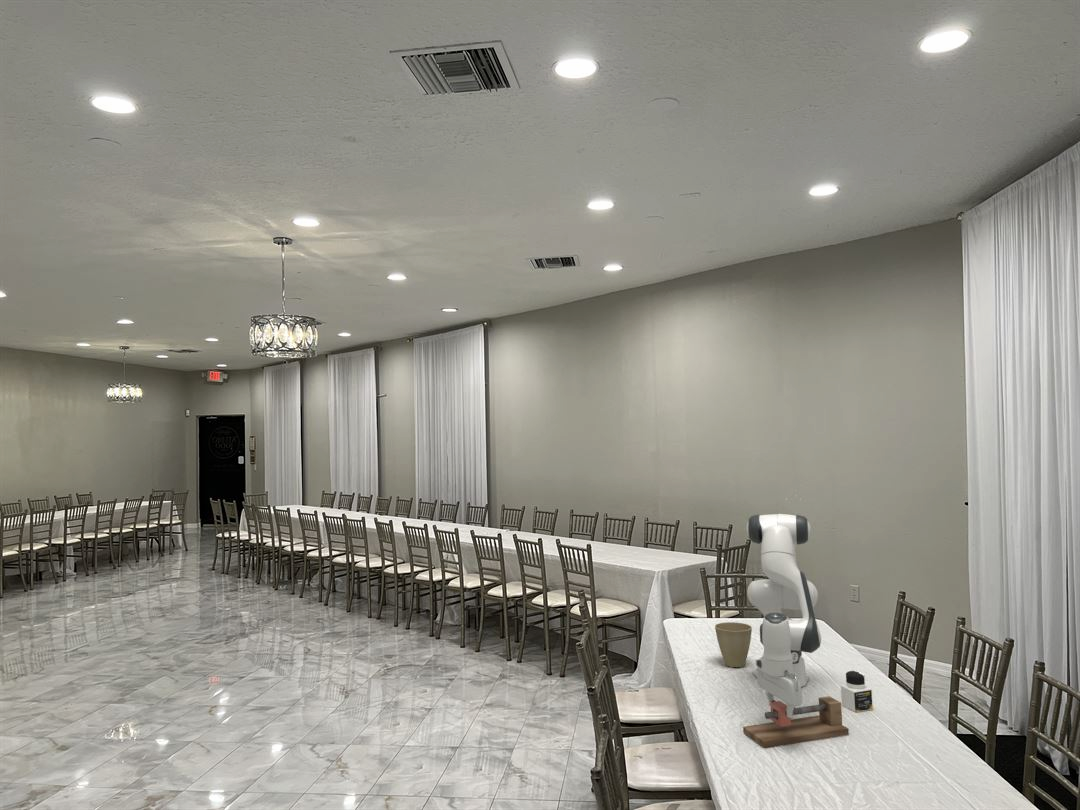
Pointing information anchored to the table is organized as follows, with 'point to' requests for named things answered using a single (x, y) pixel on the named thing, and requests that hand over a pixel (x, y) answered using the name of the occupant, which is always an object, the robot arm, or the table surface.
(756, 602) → the robot arm
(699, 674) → the table surface
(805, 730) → the rod stand
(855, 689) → the medicine bottle
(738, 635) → the plant pot
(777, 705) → the square nut
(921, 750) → the table surface
